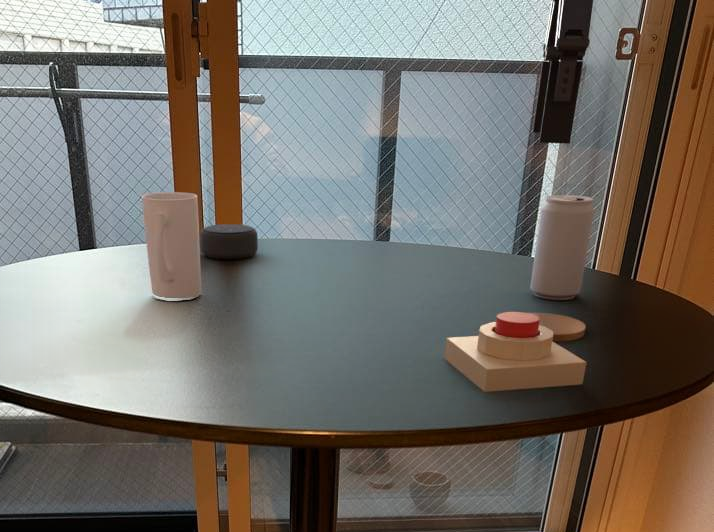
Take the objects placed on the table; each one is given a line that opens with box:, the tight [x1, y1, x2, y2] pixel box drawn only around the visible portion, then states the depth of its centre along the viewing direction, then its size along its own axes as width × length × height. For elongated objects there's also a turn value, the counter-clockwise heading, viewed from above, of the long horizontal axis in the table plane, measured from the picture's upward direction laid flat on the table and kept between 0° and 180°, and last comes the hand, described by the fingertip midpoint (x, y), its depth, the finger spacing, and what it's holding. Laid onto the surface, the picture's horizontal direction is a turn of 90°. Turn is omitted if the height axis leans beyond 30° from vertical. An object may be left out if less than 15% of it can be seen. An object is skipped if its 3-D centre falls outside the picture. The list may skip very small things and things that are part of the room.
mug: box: [141, 191, 202, 298], centre depth 99 cm, size 10×7×12 cm, turn 173°
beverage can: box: [529, 194, 595, 301], centre depth 102 cm, size 6×6×12 cm
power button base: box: [444, 321, 587, 393], centre depth 78 cm, size 10×10×4 cm
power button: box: [495, 311, 540, 338], centre depth 77 cm, size 4×4×2 cm
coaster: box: [528, 312, 587, 343], centre depth 91 cm, size 9×9×1 cm
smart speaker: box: [199, 223, 259, 260], centre depth 125 cm, size 9×9×4 cm
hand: (549, 137), depth 80 cm, fingers open, 13 cm apart
